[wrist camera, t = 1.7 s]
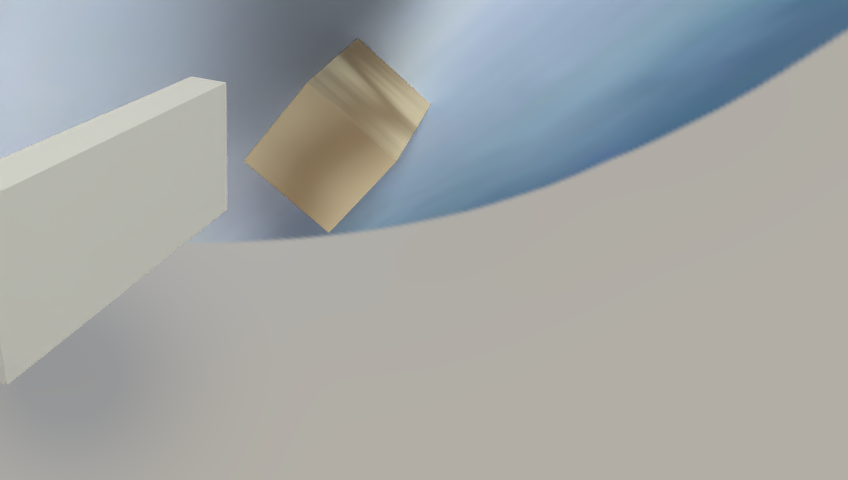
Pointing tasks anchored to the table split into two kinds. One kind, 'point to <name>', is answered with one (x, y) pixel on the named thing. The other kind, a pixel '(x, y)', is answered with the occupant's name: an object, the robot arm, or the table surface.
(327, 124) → the beech block
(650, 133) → the table surface
